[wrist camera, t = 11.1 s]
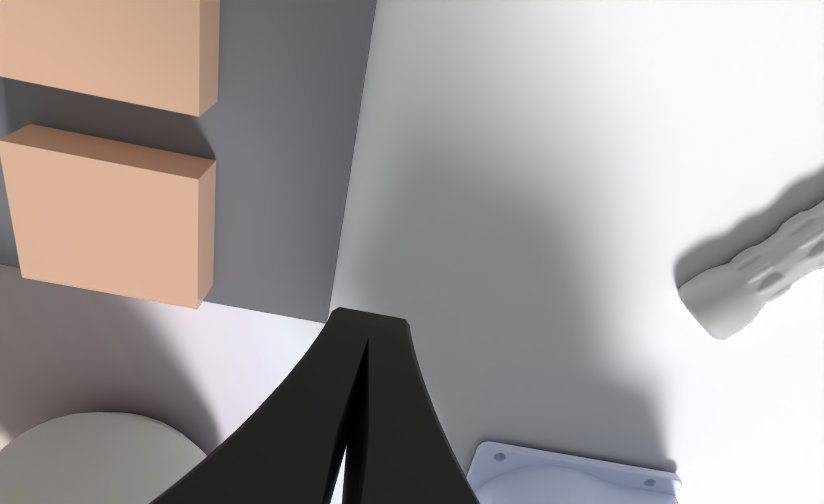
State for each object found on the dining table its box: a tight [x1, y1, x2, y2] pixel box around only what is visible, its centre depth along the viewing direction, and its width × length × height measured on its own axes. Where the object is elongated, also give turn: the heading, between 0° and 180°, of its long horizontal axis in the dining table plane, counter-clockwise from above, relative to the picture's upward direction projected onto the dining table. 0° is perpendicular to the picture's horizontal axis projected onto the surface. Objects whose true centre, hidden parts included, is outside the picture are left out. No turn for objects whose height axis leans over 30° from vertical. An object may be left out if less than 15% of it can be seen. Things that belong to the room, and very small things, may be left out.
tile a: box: [0, 124, 216, 309], centre depth 19 cm, size 2×5×6 cm
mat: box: [0, 0, 377, 323], centre depth 18 cm, size 14×14×1 cm
